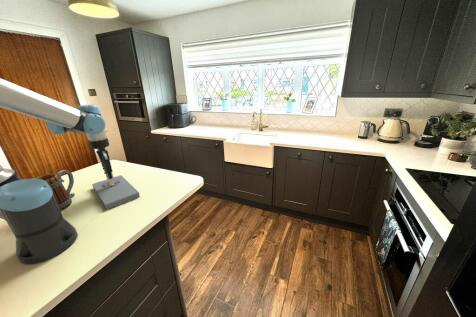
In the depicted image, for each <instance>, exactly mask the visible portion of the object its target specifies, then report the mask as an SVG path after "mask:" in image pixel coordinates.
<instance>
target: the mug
mask: <svg viewBox="0 0 476 317" xmlns="http://www.w3.org/2000/svg"><path fill="white" fill-rule="evenodd" d="M63 174H66V176H68V181H69V182H68V185H67V188H65V186H64V184H63V183H65V179H63V178H62V175H63ZM34 179H42V180H44V181H46V182H47V183H48V185H49V186H50V188H51V189H52V191H53V195H54V197H55V199H56V202H57V204H58V206H59V209H60V211H61V212H62V211H64V210H65V209H67V208H68V207H70V206H71V205H72V202H73V200H72V198H74V197H75V196H76V195H75V192H71V191H72V190H73V187H74V183H75V180H74V179H75V178H74V175H73V174H72V172H71V171H70V170H65V169H64V170H60V171H58V172H57V173H47V174H43V175H41V176H37V177H36V178H34Z"/></svg>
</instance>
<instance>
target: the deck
mask: <svg viewBox="0 0 476 317" xmlns="http://www.w3.org/2000/svg"><path fill="white" fill-rule="evenodd" d="M113 177H114V180H115V183H114V185H112V186H107V185H108V181H107V179H103V180H101V181H100V180H99V181H97V182H94V183H92V184H91V185H92V188H93V190H94V192H95V193H96V195H97V196H98V198H99V199H100V201H101V203H102V205H103V206H104V207H105V209H106V210H107V211H108V210H110V209H112V208H115V207H117V206H120V205H123V204H125V203H128V202H130V201H132V200H135V199H138V198H141V196H140V195H141V194H140V192H139V191H138V190H137V189H136V188H135V187H134V186H133V184H131V183H130V182H129V181H128V180H127V179H126V178H125V177H124V176H123V175H118V176H117V175H116V176H113Z"/></svg>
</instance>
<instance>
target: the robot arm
mask: <svg viewBox="0 0 476 317" xmlns="http://www.w3.org/2000/svg"><path fill="white" fill-rule="evenodd" d="M0 108H2V109H5V110H9V111H12V112H15V113H18V114H22V115H24V116H29V117H31V118H35V119H37V120H41V121H44V122H45V124H46V126H47V128H48V131H50V132H51V133H52V134H54V135H62V134H63V135H64V134H67V133H72V134H73V133H75V134H76V133H77V134H85V135H86V138H87V140H88V144H89V147H90V148H91V149H92V150H97V151H95V152H96V154H97V156H98V159H99V161H100V164H101V166H102V170H103V171H104V172H103V174H104V175H105V177H106V180H107V181H108V184H109V185H111V184H114V183H115V180H114V177H115V176H114V175H113V172H114V171H113V168H112V163H111V160H110V155H109V152H108V150H107V149H106V148H108V147H110V143H109V142H110V140H109V139H108V135H107V133H108V130H106V129H105V128H106V120H105V119H104V118H103V117H102V113H101V110H100V107H99V106H98V105H96V104H84V105H78V106H77V108H76V107H72V106H71V105H68V104H65V103H63V102H61V101H58V100H56V99H53V98H50V97H48V96H45V95H44V94H41V93H39V92H36V91H34V90H31V89H28V88H27V87H24V86H21V85H19V84H16V83H14V82H11V81H8V80H6V79H4V78H1V77H0ZM0 219H2V220H4V221H5V222H6V223H7V225H8V227H9V228H10V230H11V232H12V233H13V235H14V237H15V256H16V258H17V260H18V262H19V263H21V264H22V265H32V264H34V265H35V264H38V263H42V262H45V261H48V260H49V259H52V258H54V257H56V256H58V255H60V254H61V253H63V252H64V251H66V250H68V249H69V248H70V247H71V246H72V245H73V244H74V243H75V242H76V241H77V238H78V237H79V236H78V231H77V229H76V227H74V225H73V224H71V223H70V222H69V221H68V220H67V219H66V218H64V216H63V214H62V210H61V211H60V209H59V206H58V204H57V202H56V199H55V197H54V195H53V191H52V189H51V188H50V186H49V185H48V183H47V182H46V181H44V180H42V179H35V178H21V177H20V176H19V174H17V172H16V171H15V170H14V169H10V168H4V167H3V166H2V165H1V164H0Z"/></svg>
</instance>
